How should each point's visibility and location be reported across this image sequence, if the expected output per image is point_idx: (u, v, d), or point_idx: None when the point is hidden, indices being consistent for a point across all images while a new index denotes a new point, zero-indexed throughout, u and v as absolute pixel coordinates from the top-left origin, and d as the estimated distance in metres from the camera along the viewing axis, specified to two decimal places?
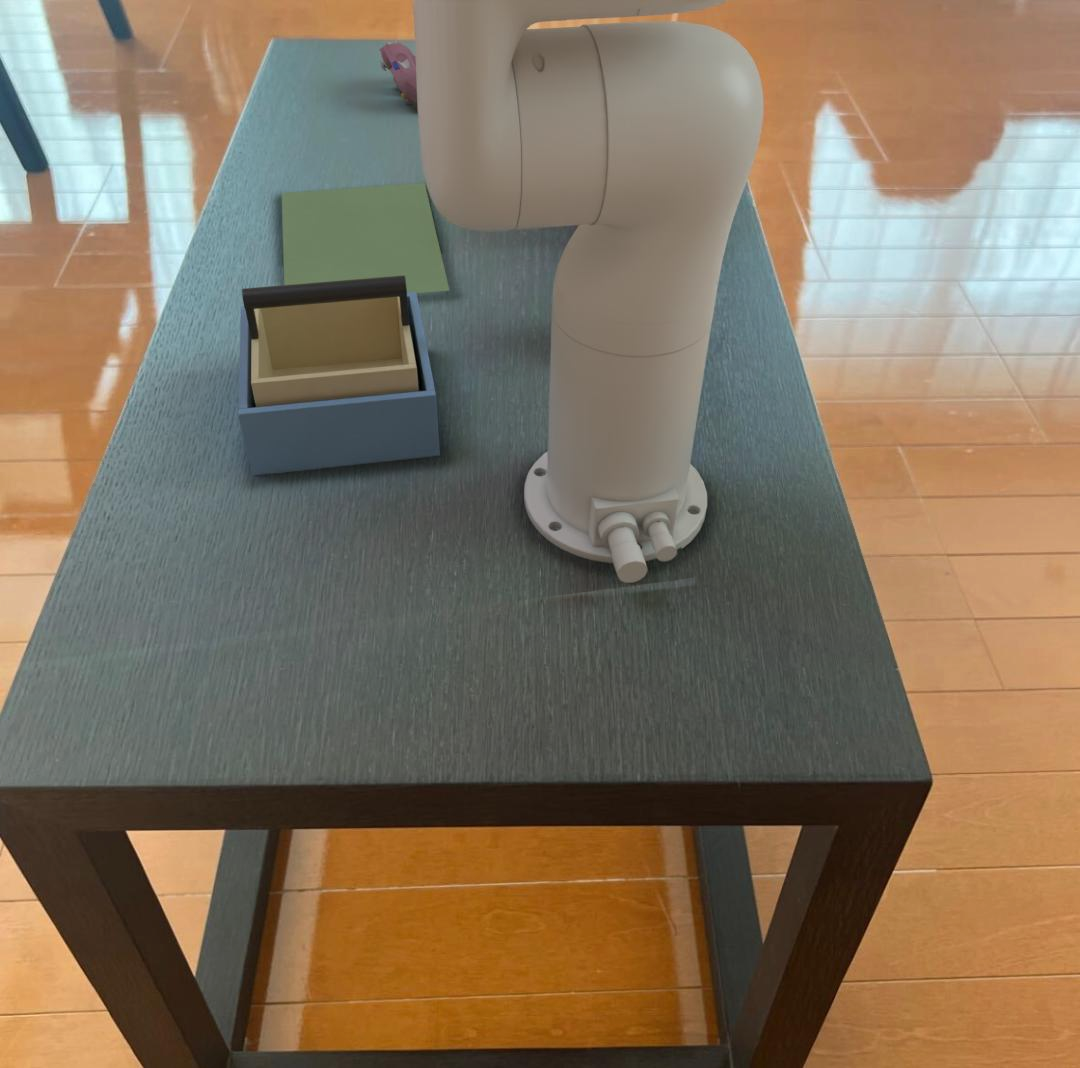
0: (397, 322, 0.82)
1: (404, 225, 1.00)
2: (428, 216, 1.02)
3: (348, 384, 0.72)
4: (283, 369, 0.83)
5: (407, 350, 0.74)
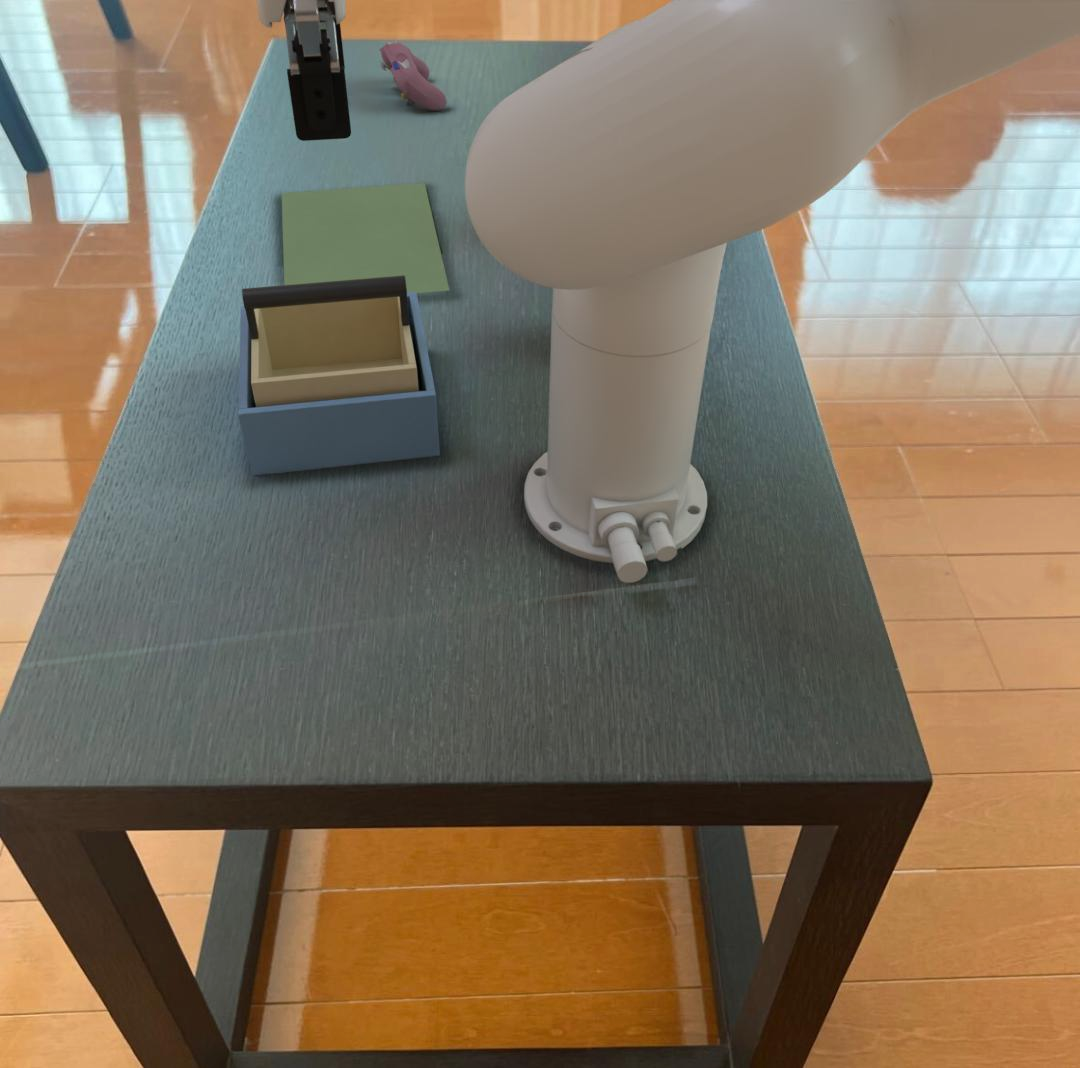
0: (397, 322, 0.82)
1: (404, 225, 1.00)
2: (428, 216, 1.02)
3: (348, 384, 0.72)
4: (283, 369, 0.83)
5: (407, 350, 0.74)
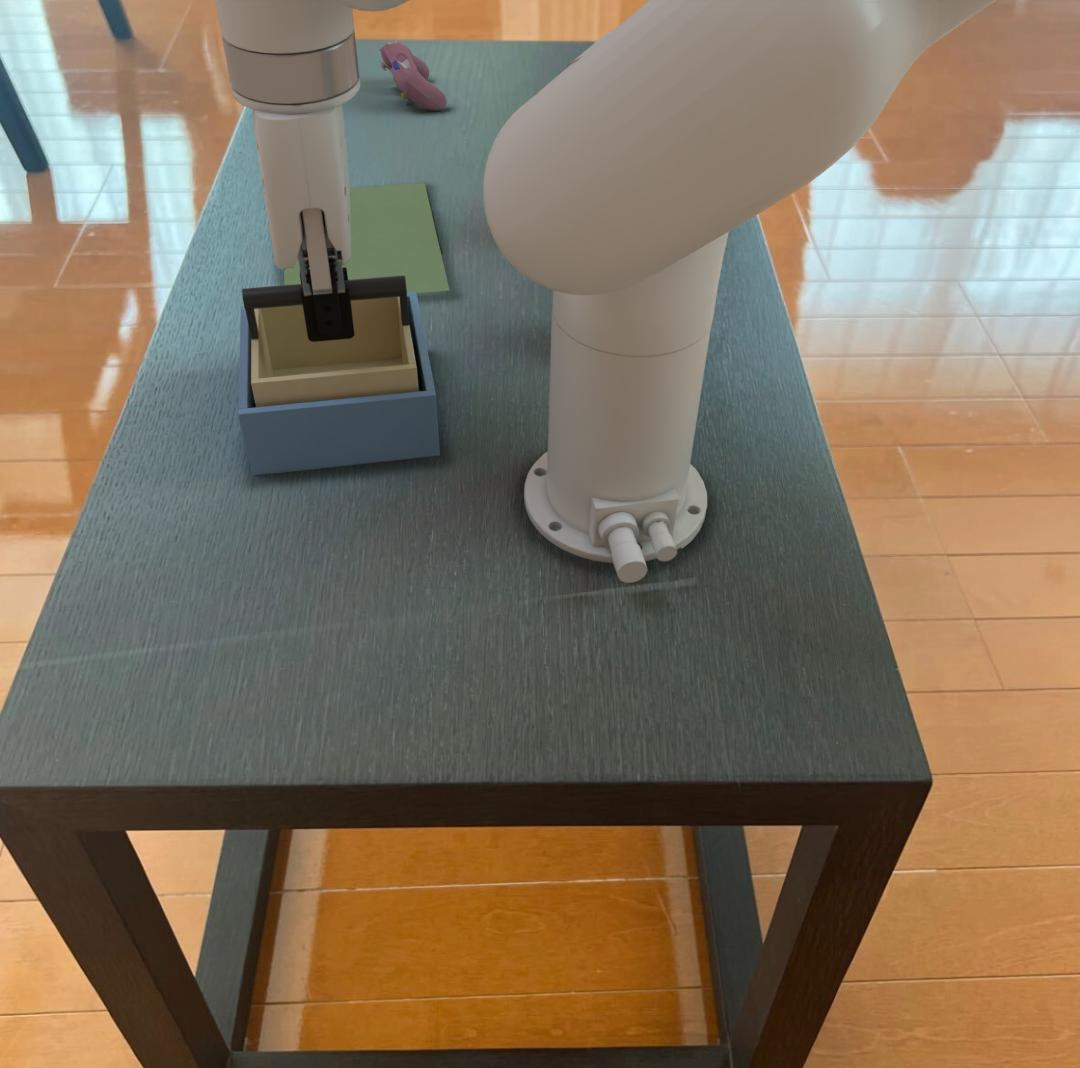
0: (397, 322, 0.82)
1: (404, 225, 1.00)
2: (428, 216, 1.02)
3: (348, 384, 0.72)
4: (283, 369, 0.83)
5: (407, 350, 0.74)
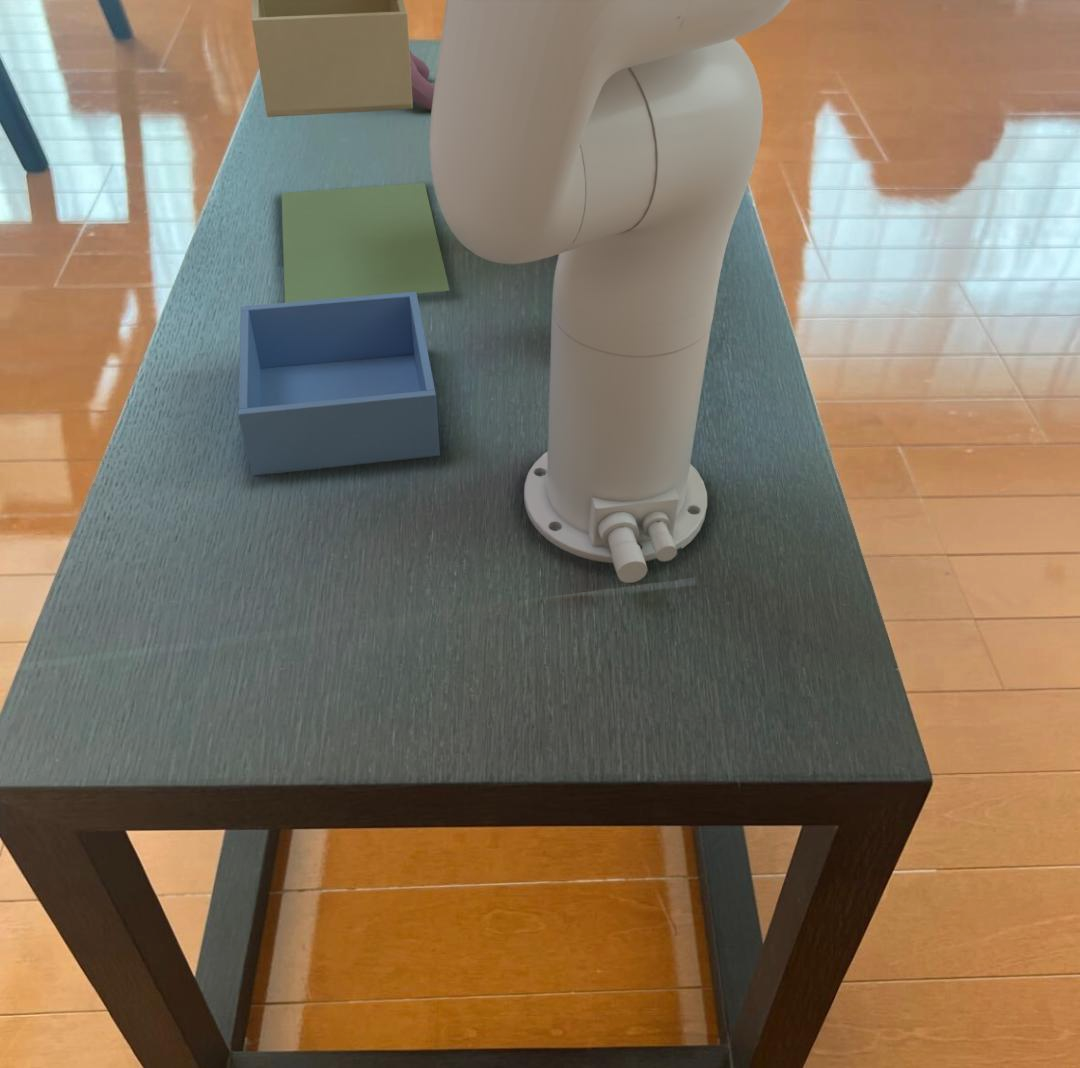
0: (389, 9, 0.87)
1: (404, 225, 1.00)
2: (428, 216, 1.02)
3: (343, 28, 0.77)
4: None
5: (398, 3, 0.79)
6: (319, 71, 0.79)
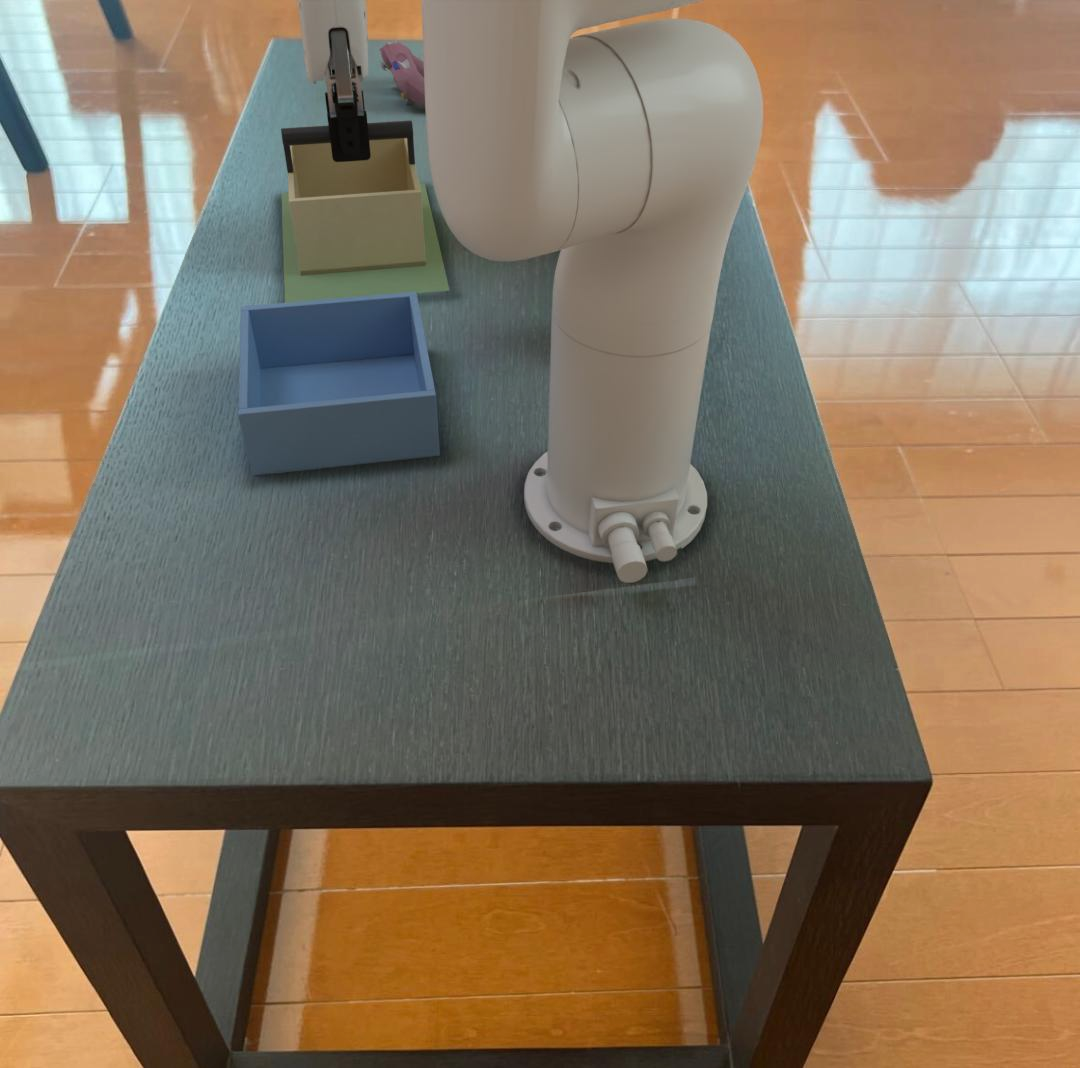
0: (405, 171, 1.00)
1: None
2: (428, 216, 1.02)
3: (366, 205, 0.90)
4: None
5: (413, 180, 0.92)
6: (345, 239, 0.92)
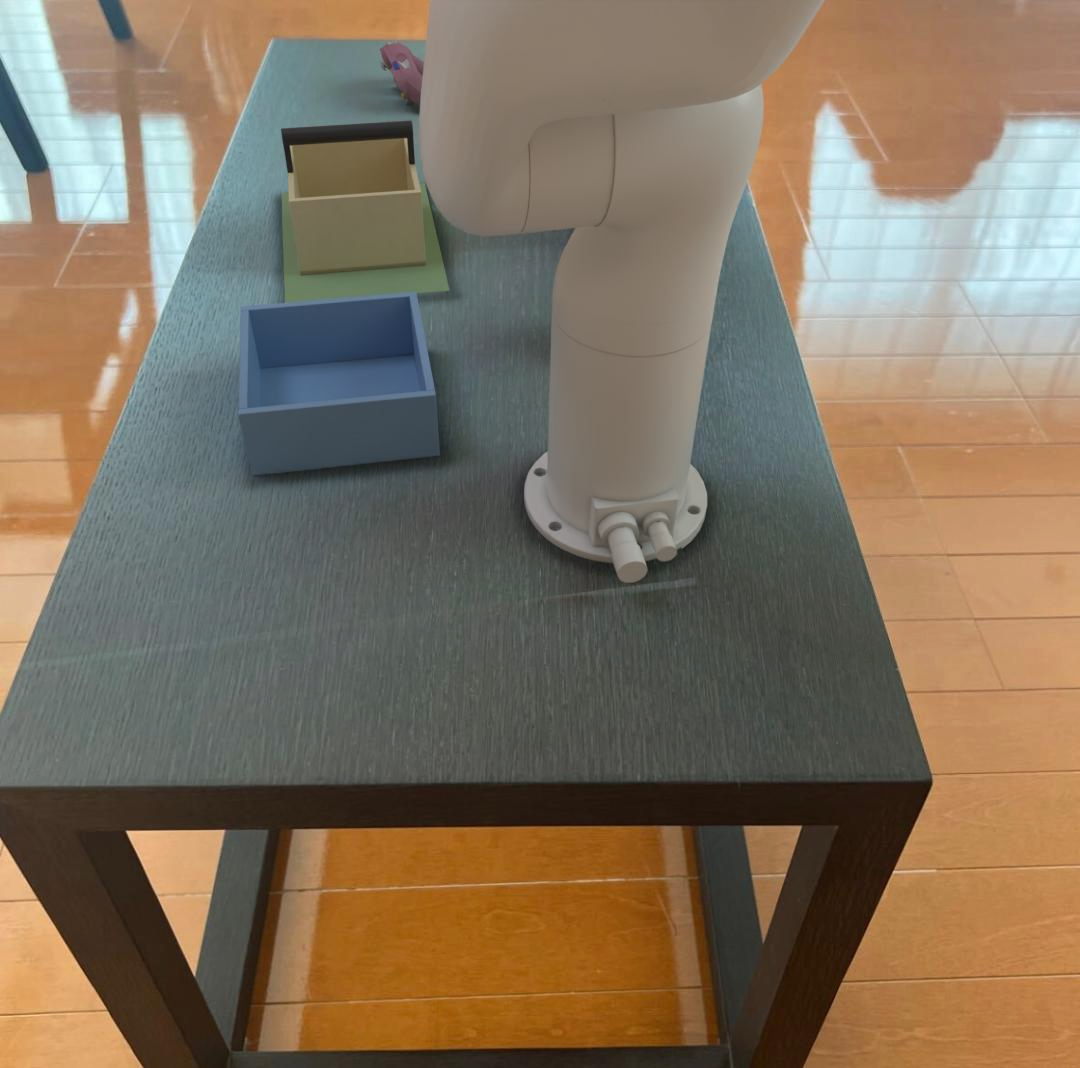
0: (405, 171, 1.00)
1: None
2: (428, 216, 1.02)
3: (366, 205, 0.90)
4: None
5: (413, 180, 0.92)
6: (345, 239, 0.92)
